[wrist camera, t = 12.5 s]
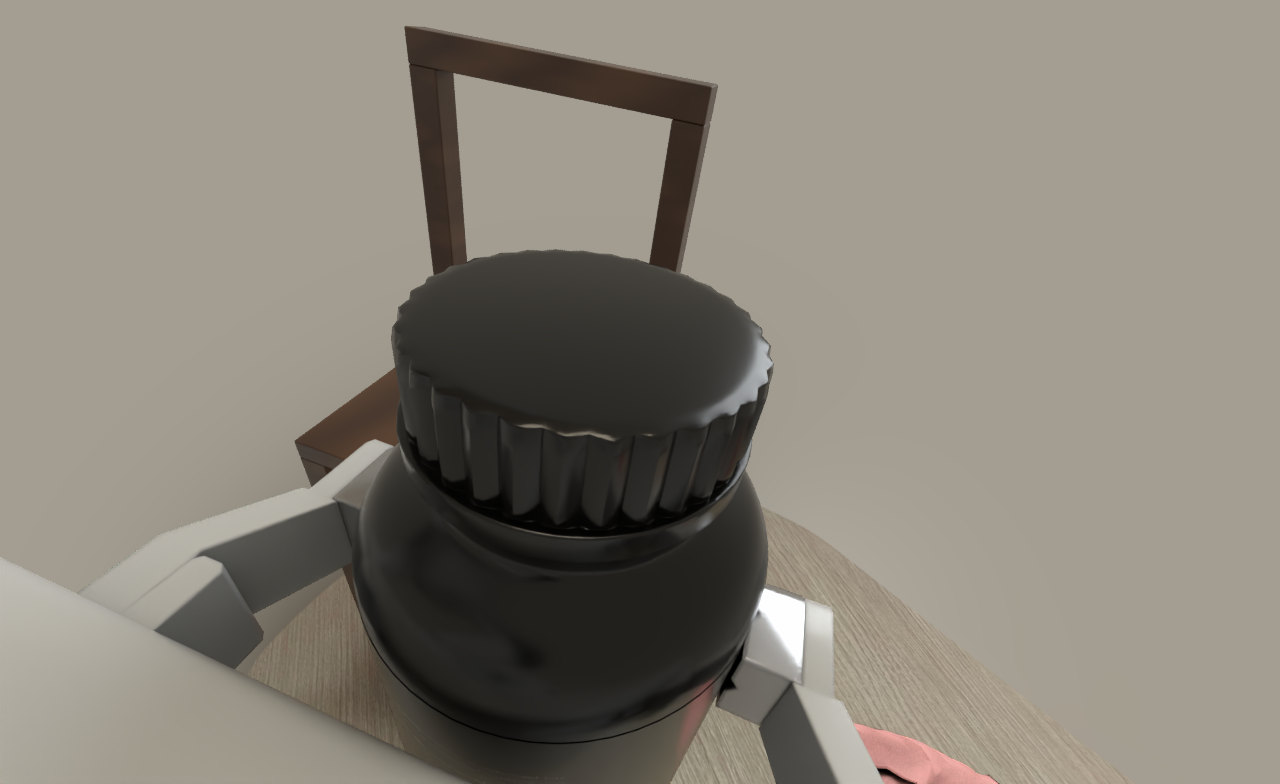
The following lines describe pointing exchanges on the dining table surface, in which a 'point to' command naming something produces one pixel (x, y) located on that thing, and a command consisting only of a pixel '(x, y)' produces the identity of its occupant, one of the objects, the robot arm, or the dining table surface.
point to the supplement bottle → (564, 517)
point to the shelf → (440, 166)
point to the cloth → (914, 761)
